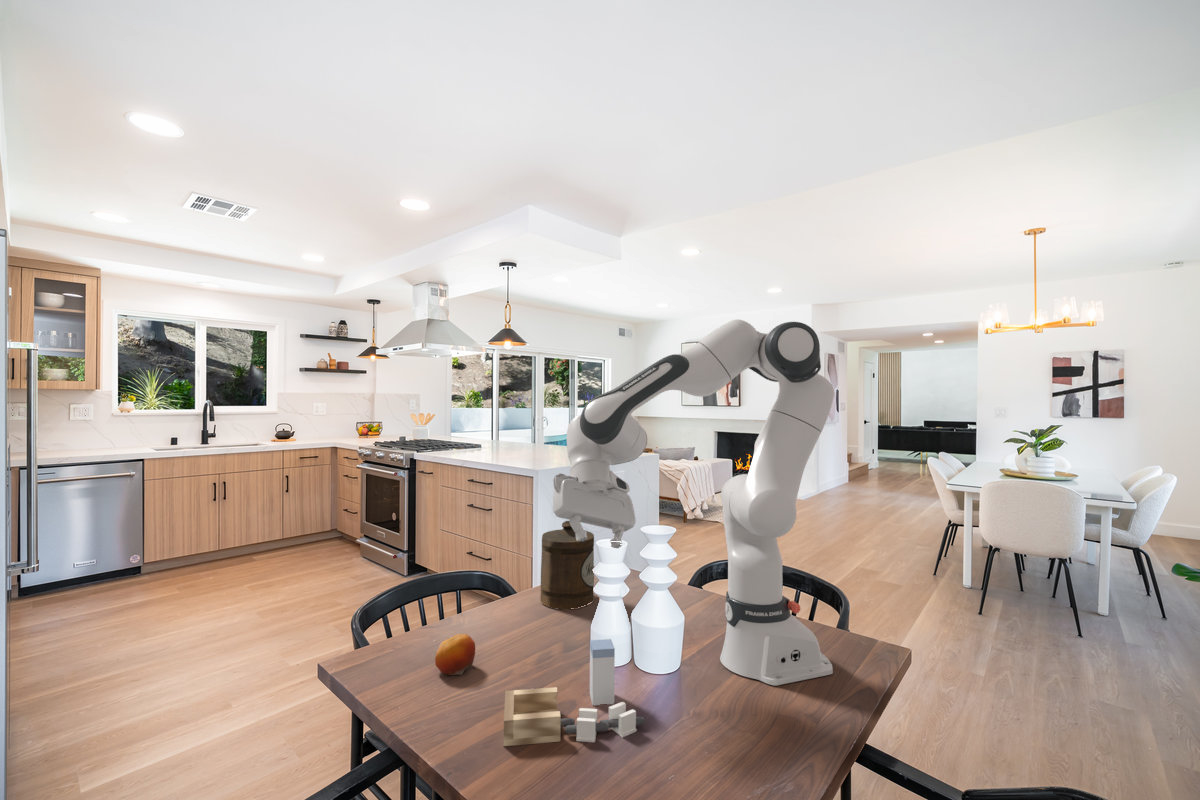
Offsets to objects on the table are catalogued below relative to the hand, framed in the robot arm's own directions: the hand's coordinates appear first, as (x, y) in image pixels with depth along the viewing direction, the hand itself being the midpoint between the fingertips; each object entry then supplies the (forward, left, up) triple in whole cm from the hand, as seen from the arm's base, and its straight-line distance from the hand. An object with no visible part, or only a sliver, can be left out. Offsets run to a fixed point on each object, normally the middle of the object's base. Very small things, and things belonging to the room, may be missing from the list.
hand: (599, 543), depth 107 cm
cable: (+3, +18, -26) cm, 32 cm away
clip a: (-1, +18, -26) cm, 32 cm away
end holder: (+14, +15, -26) cm, 33 cm away
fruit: (+29, -7, -27) cm, 40 cm away
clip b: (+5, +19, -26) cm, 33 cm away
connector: (+1, +8, -26) cm, 28 cm away
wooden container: (+3, -43, -27) cm, 50 cm away
